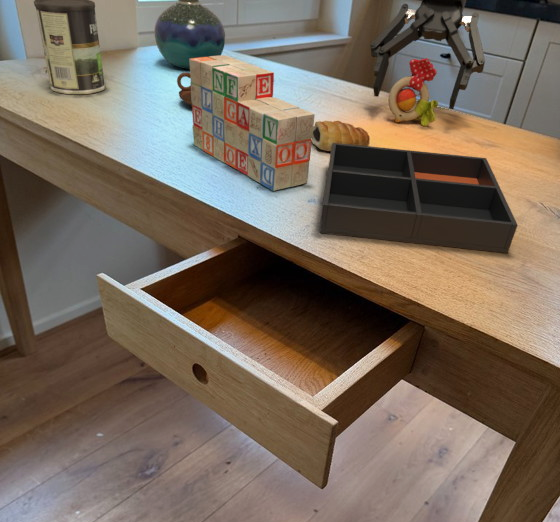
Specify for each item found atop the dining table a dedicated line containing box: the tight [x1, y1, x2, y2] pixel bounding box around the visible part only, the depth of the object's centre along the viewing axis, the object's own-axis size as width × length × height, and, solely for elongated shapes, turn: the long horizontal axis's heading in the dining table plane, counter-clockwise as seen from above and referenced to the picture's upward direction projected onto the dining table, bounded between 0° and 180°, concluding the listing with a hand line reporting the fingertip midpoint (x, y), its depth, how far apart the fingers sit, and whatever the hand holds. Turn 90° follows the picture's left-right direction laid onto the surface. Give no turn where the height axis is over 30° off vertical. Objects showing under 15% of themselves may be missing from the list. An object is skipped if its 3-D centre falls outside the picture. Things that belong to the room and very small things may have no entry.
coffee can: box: [33, 0, 106, 95], centre depth 104 cm, size 10×10×14 cm
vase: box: [154, 0, 226, 70], centre depth 124 cm, size 15×15×13 cm
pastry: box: [311, 120, 371, 152], centre depth 90 cm, size 9×7×4 cm
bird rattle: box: [387, 57, 439, 127], centre depth 101 cm, size 6×11×9 cm
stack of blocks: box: [189, 54, 315, 192], centre depth 79 cm, size 21×6×12 cm, turn 37°
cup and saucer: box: [176, 72, 192, 107], centre depth 103 cm, size 12×12×6 cm
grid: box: [319, 143, 518, 254], centre depth 74 cm, size 22×22×4 cm
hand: (413, 98), depth 99 cm, fingers open, 13 cm apart
